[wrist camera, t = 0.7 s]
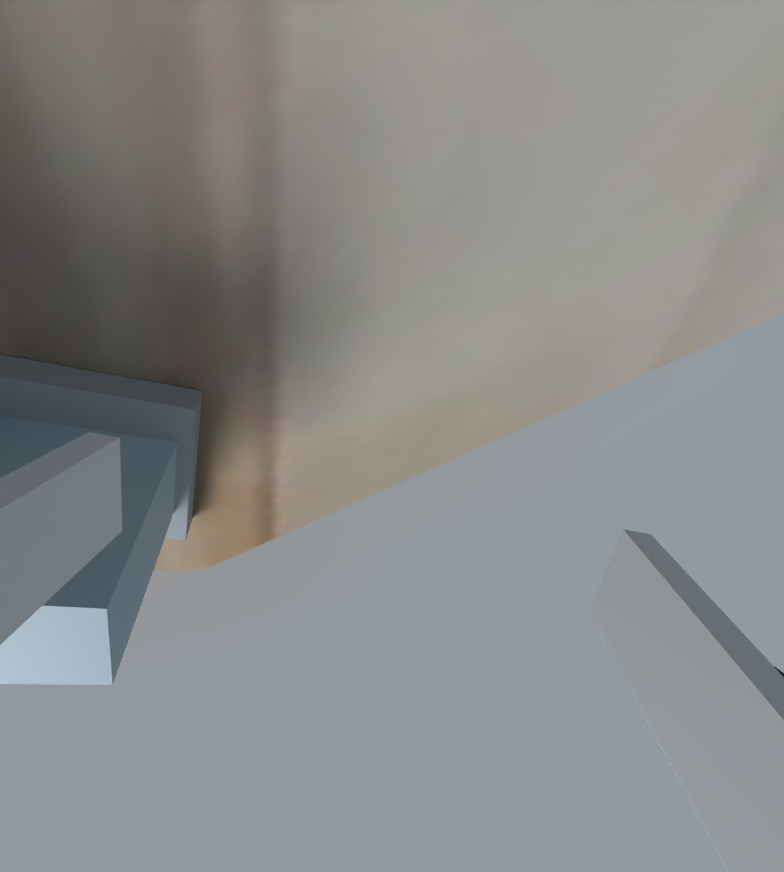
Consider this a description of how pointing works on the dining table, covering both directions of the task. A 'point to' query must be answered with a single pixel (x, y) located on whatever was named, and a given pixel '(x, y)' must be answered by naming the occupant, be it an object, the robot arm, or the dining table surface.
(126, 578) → the block
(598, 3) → the dining table surface
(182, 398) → the runway
